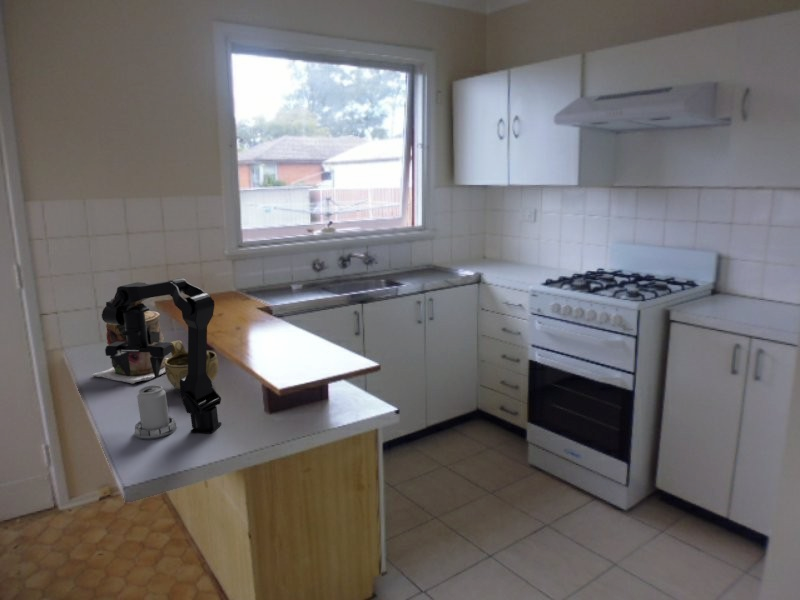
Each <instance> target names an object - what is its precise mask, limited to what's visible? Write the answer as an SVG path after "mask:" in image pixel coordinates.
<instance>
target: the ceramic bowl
mask: <svg viewBox="0 0 800 600" xmlns="http://www.w3.org/2000/svg"><path fill="white" fill-rule="evenodd" d="M170 343H171V344H172V347H173V351H172V352H170V353H171V356H170V357H167V358H168V359H167V360H166V361H165V371H166V372H165V375H166V378H167V380H168V381H169V383H170V385H172V387H174V388H175V389H177V390H180V380H181V379H183V378H185V377H187V375H188V350H186V349H185V346H184V344H183V342H182V341H181V340H174V341H170ZM218 371H219V361H218V356H217V353H216V352H214V351H212V350H207V362H206V373H207V375H208V376H209V378H210V379H211V382H212V383H213V382H214V380H215V379H216V378H217V375H218Z"/></svg>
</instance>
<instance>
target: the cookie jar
mask: <svg viewBox="0 0 800 600" xmlns="http://www.w3.org/2000/svg"><path fill="white" fill-rule="evenodd" d="M113 299H114V297H113V298H111V299H110V301H113ZM141 303H143V301H141V302H138V303H136V304H132V305H138V304H141ZM129 306H131V305H129ZM144 313H145V320H146V327H149V328H150V331H151V332H160V338H159V342H165V339H164V334H163V331H162V329H161V324H160V319H161V314H160V313H159V312H157V311H151V310H149V311H146V312H144ZM105 328H106V333H105V334H106V341H107V342H106V344H107V346H108V345H110V344H112V343H114V342H127V338H126V335H123V332H124V331H125V325H117V324H109V323H106V324H105ZM155 344H157V343H156V342H153V344H149V346H153V345H155ZM151 357H152V356H151V355H150V352H130V353H129V357H128V358H129V365H130V376H129V377H127V376H126V374H125V373H124V372H123V370H122V369H121V368H120V366H119V365H118V364H117V363H116V362H115V361H114V360H113V359H111V358H110V359H111V365H112V367H110V368H108V369H106V370H103V371H99V372H95V373H92V376H93V377H97V378H105V379H107V380H113V381H117V382H123V383H129V384H133V385H134V384H136V383H137V382H141V381H150V380H152V379H154V378H156V377H155V375H154V372H153V369H152V365H151V361H150V358H151ZM168 358H169V357H166V356H165V357H164V358H163V361H162V364H161V368H160V372H159V376H160V375H163V374H166V371H165V361H166V360H167V359H168Z"/></svg>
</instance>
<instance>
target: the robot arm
mask: <svg viewBox="0 0 800 600" xmlns="http://www.w3.org/2000/svg"><path fill="white" fill-rule="evenodd" d="M182 293H183V294H184V295H186V296H188V297H186V298H185V297H184V296H183V295H182ZM163 296H170V297H171V298H172V301H173V304H174V306H175V307H176V308H177V309H179V311H181V317H182V320H183V321H184V323H185V324H186V325H187V328H188V329H187V352H188V375H187V377H185V378H183V379H181V380H180V389H179V392H178V393H179V394H180V399H181V402H182V403H183V406H184V408H185V411H186V413H187V414H190V421H191V428H192V429H191V430H190V433H192V434H193V433H195V434H213V433H214V432H215V431H216V430H217V429H218V428H219V427H220V426H222V422H220V421H219V415H218V407H217V406H218V405H220V404H221V401H222V397H221V396H220V395H219V394H218V393H217V391H216V390H215V389H214V388H213V385H212V383H213V381H212V382H211V379H210V378H209V376H208V375H207V373H206V362H207V351H208V349H207V347H208V345H207V344H208V325H209V323H210V321H211V320H212V318H213V316H214V310H215V300H214V298H212V296H211V295H210V294H209V293H207V292H206V291H205V290H204V289H202V288H201V287H199V286H196V285H194V284H191V283H190V282H189V281H187V280H186V279H185V278H182V277H180V278H176V279H172V280H167V281H160V282H156V283H146V282H139V281H136V282H132V283H128V284H124V285H121V286H120V285H119V286H118V287H117V288H116V292H115V295H114V297H113V298H114V299H113V298H112V299H113V301H111V300H110V301H109V300H108V301H106V302H105V307H104V308H103V309H102V311H101V313H102V314H101V319H102V321H103V322H104V323H106V324H107V323H109V324H117V325H125V331H124V332H123V335H126V338H127V342H114V343H112V344H110V345H108V344H107V345H106V347H105V348H104V354H105V356H108V357H109V359H113V360H114V361H115V362H116V363H117V364H118V365H119V366H120V368H121V369H122V370H123V372H124V373H125V374H126V376H127V377H129V376H130V365H129V358H128V357H129V353H130V352H150V355H151V356H152V357H151V358H150V361H151V365H152V369H153V372H154V375H155V377H154V378H158V377H159V376H160V375H159V372H160V368H161V364H162V361H163V358H164V357H165V358H166V356H168V355H169V354H170V353H171V352H172V351H173V347H172V344H171V343H170V342H171V341H170V342H165V341H164V342H159V338H160V332H151V331H150V328H149V327H146V320H145V313H144V312H146V311H150V308H149V307H148V306H146V305H145V304H144V303H143V301H146V300H148V299H151V298H158V297H163ZM141 301H142V302H141ZM138 302H141V304H138V305H132V304H136V303H138ZM129 305H131V306H129ZM153 342H156V343H157V344H155V345H153V346H149V344H153Z"/></svg>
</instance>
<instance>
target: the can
mask: <svg viewBox="0 0 800 600" xmlns="http://www.w3.org/2000/svg"><path fill="white" fill-rule="evenodd" d="M136 398H137V404H138V412H139V417H140V421H141V426H142V429H143V430H154V429H159V428H162V427H165V426H167V425H169V423H170V422H169V416H170V415H169V408H168V401H167V393H166V391H165V390H164V389H163V386H162V385H157V384H153V385H147V386H144V387H142V388H140V389H139V390H138V394H137V395H136Z"/></svg>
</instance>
